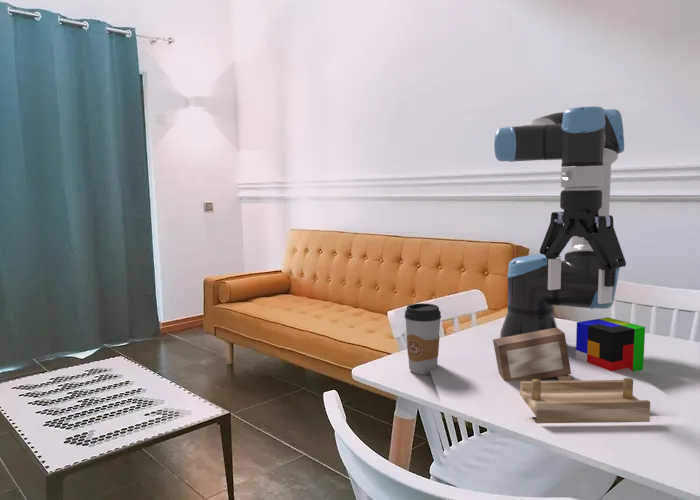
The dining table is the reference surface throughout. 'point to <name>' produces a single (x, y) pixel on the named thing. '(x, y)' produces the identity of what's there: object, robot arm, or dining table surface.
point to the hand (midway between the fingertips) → (577, 295)
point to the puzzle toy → (611, 344)
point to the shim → (564, 378)
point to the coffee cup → (422, 337)
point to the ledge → (584, 401)
